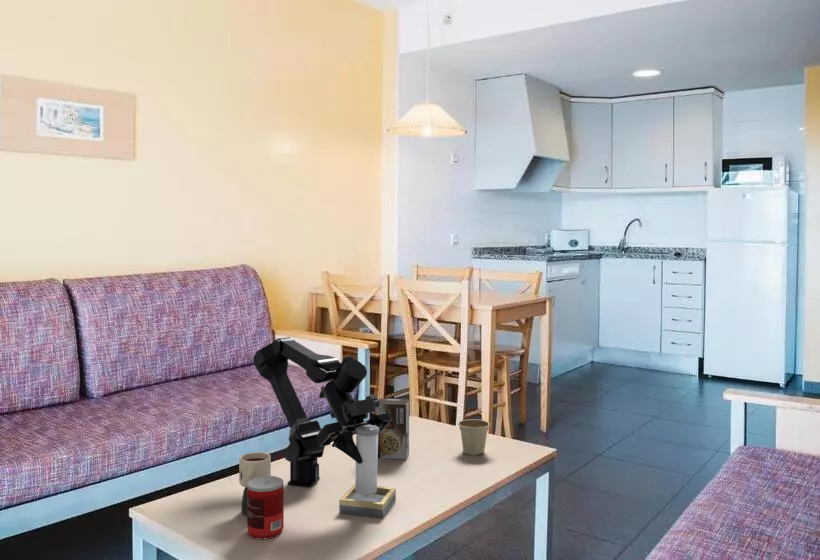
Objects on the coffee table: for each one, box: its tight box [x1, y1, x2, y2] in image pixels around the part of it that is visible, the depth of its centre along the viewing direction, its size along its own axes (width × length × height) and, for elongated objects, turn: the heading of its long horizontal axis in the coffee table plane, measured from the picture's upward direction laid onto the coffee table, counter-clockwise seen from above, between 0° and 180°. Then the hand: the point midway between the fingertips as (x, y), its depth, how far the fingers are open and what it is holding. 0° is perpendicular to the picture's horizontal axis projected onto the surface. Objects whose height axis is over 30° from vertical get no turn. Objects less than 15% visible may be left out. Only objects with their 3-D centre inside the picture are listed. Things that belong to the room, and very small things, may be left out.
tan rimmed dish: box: [338, 483, 397, 519], centre depth 165 cm, size 10×10×3 cm
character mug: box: [238, 451, 272, 515], centre depth 161 cm, size 11×7×13 cm, turn 178°
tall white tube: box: [354, 425, 379, 495], centre depth 162 cm, size 5×5×15 cm
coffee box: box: [375, 397, 410, 460], centre depth 203 cm, size 9×6×16 cm
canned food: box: [246, 475, 285, 540], centre depth 151 cm, size 8×8×11 cm
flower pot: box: [457, 418, 491, 456], centre depth 207 cm, size 9×9×9 cm
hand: (370, 460), depth 161 cm, fingers closed on tall white tube, 5 cm apart
